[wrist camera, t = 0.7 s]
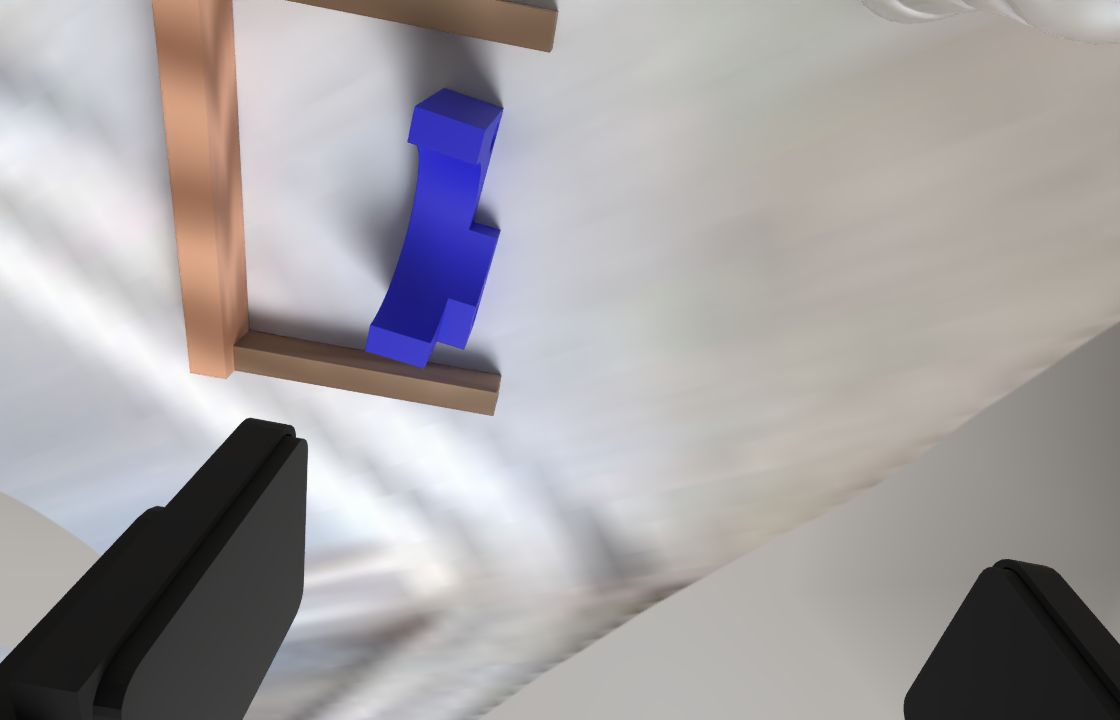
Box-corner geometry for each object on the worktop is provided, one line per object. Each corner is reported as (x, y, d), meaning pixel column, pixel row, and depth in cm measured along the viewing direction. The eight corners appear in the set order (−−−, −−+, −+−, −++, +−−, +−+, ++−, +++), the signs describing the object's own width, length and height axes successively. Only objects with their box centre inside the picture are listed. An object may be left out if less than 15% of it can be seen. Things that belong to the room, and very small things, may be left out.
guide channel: (184, -64, 30) (144, -69, 28) (558, 11, 31) (554, 13, 28) (216, 347, 40) (190, 372, 38) (497, 397, 41) (490, 425, 39)
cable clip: (473, 325, 39) (453, 377, 34) (397, 301, 39) (364, 350, 33) (533, 118, 33) (520, 142, 28) (444, 87, 33) (414, 106, 28)
